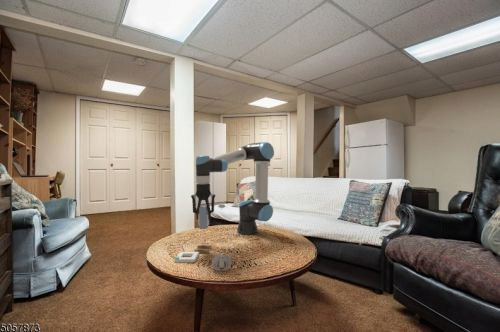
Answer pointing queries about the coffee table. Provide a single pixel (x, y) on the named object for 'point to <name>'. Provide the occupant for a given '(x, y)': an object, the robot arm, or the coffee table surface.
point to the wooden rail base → (203, 249)
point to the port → (186, 259)
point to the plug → (203, 217)
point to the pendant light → (221, 258)
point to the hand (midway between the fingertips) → (203, 225)
